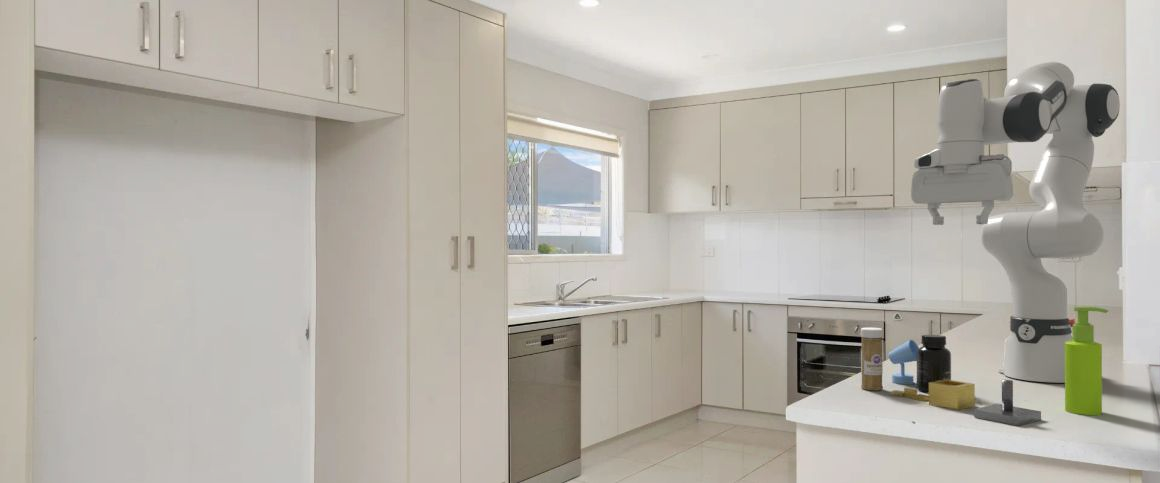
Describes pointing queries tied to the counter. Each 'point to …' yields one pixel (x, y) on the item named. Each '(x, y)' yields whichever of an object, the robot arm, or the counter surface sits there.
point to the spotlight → (903, 361)
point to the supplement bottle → (932, 361)
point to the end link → (951, 394)
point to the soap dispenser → (1083, 367)
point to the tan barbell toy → (910, 394)
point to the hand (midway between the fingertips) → (959, 224)
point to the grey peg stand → (1007, 409)
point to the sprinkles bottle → (871, 358)
